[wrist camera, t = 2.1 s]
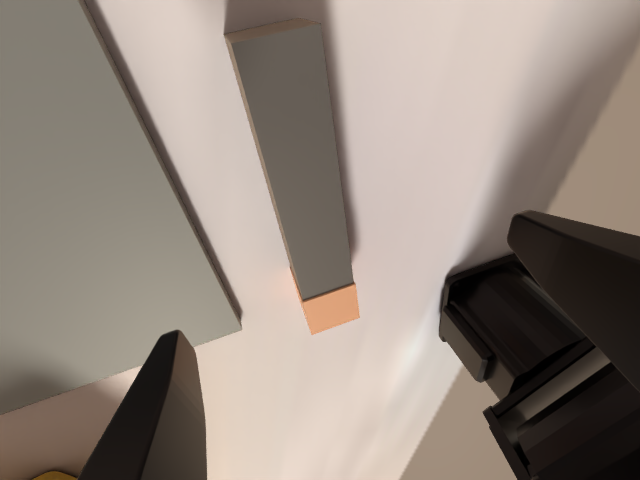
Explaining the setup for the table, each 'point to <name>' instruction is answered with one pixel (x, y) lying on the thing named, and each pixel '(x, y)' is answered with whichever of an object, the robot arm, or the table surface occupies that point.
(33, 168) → the slate board
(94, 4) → the table surface
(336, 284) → the block
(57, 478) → the flower pot
